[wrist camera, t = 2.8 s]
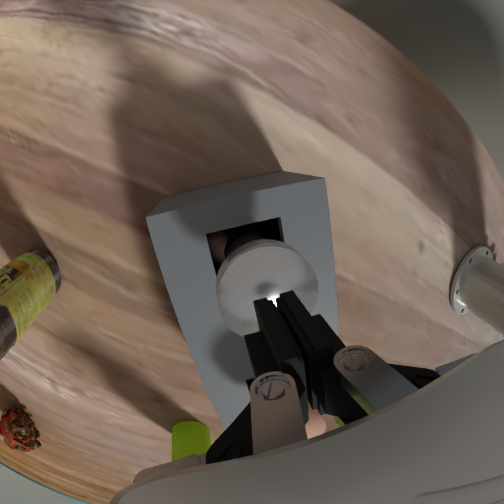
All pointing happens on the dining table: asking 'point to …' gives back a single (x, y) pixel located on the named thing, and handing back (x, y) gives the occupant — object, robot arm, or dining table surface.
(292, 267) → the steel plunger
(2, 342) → the sauce bottle
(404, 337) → the dining table surface
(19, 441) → the dragon fruit
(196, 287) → the button box
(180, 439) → the soap dispenser
